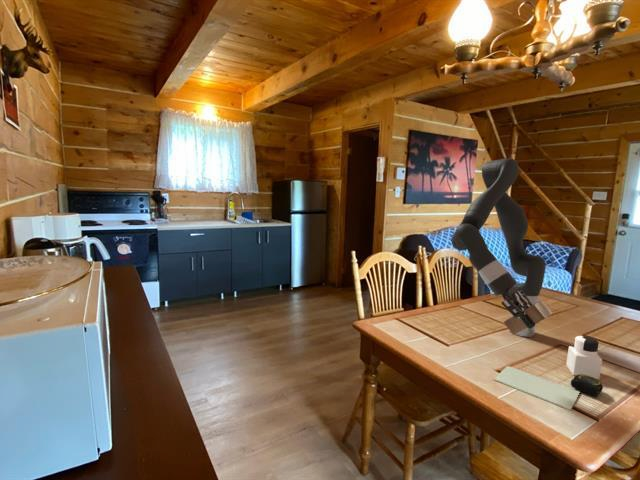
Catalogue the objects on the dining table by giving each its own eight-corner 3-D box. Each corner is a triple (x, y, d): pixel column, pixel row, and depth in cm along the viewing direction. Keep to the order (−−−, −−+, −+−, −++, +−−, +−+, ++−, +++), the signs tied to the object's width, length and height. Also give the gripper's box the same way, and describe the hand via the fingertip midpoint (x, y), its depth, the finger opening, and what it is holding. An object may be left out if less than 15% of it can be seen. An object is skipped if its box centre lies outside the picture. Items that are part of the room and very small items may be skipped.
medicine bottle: (590, 369, 117) (595, 335, 115) (599, 380, 110) (605, 344, 108) (565, 365, 119) (570, 332, 117) (573, 375, 112) (578, 341, 110)
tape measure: (568, 389, 105) (570, 377, 104) (577, 382, 109) (579, 371, 108) (596, 400, 100) (597, 388, 99) (604, 393, 103) (606, 381, 103)
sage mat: (507, 366, 117) (507, 365, 117) (579, 393, 103) (580, 391, 103) (493, 380, 109) (493, 378, 109) (570, 410, 95) (570, 409, 95)
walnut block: (508, 318, 112) (541, 300, 104) (518, 331, 110) (552, 313, 103) (503, 322, 109) (537, 303, 101) (513, 335, 107) (548, 316, 100)
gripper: (498, 274, 104) (539, 325, 97) (514, 267, 114) (552, 313, 107) (478, 287, 108) (516, 337, 102) (495, 280, 118) (531, 324, 112)
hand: (535, 324), depth 104 cm, fingers closed on walnut block, 4 cm apart
